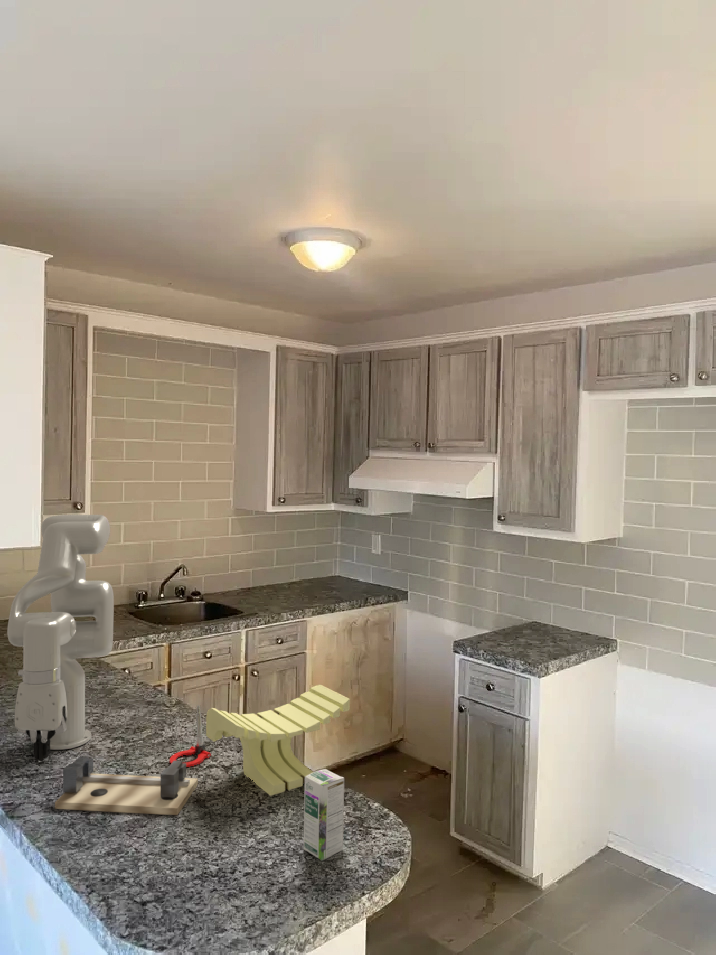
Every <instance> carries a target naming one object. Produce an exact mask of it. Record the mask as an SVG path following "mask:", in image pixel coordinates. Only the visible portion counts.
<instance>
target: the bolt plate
mask: <svg viewBox="0 0 716 955" xmlns="http://www.w3.org/2000/svg"><path fill="white" fill-rule="evenodd" d="M198 784H199V778H197V777H196V778H195V777H187V768H186V763H185V762H183V760H176V761H173V762H172V764H169V766H168V767H166V768H164V769H163V771H162V772H161V773H160V776H154V775H153V776H151V775H132V774H131V775H130V774H129V775H128V774H114V773H113V774H111V773H94V772H92V773H91V774H90V775H89V776H83V787H82V788H80V789H79V790H78V791H77V792H76V793H74V792H63V794H62V795H61V796H59V797H58V798H57V800H55V802H54V810H57V809H58V810H71V811H91V812H108V813H111V812H112V813H125V814H126V813H128V814H129V813H131V814H148V815H149V814H150V815H165V816H166V815H168V816H178V815H179V814H180V812H181V811H182V809H183V808H184V806H185V805H186V803H187V802H188V800H189V799H190V797H191V796H192V795H193V793H194V792H195V790H196V788H197V787H198V786H199V785H198ZM197 785H198V786H197ZM193 791H194V792H193Z"/></svg>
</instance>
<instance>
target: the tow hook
mask: <svg viewBox="0 0 716 955" xmlns="http://www.w3.org/2000/svg"><path fill="white" fill-rule="evenodd" d="M195 715H196V717H195V718H196V736H195V739H196V742H195V743H196V744H195V745H194V746H193V745H192V746H190V748H189V749H186V750H182V751H178V752H176V753H173V754H172V755H171V756H170V758H169V764H170V763H171V764H172V762H173V761H177V760H178V759H179V758H178V757H180V756H182V757H184V756H183V755H186V756H192V754H193V755H195V753H196V755H197V754H198V755H197V758H196V759H194V760H191V761H186V762H185V761H184V763H186V767H189V768H191V767H190V766H193V767H195V766H194V765H196V766H198V765H200V764H202V763H203V762H204V760H205V759H210V758H211V757H212V753H211V752H210V751H207V750H206V744H204V735H203V730H202V729H203V728H202V713H201V705H199V704H198V705H196V714H195ZM210 756H211V757H210ZM209 757H210V758H209ZM177 758H178V759H177ZM180 758H181V757H180ZM176 759H177V760H176ZM171 764H170V765H171ZM197 764H198V765H197Z"/></svg>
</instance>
